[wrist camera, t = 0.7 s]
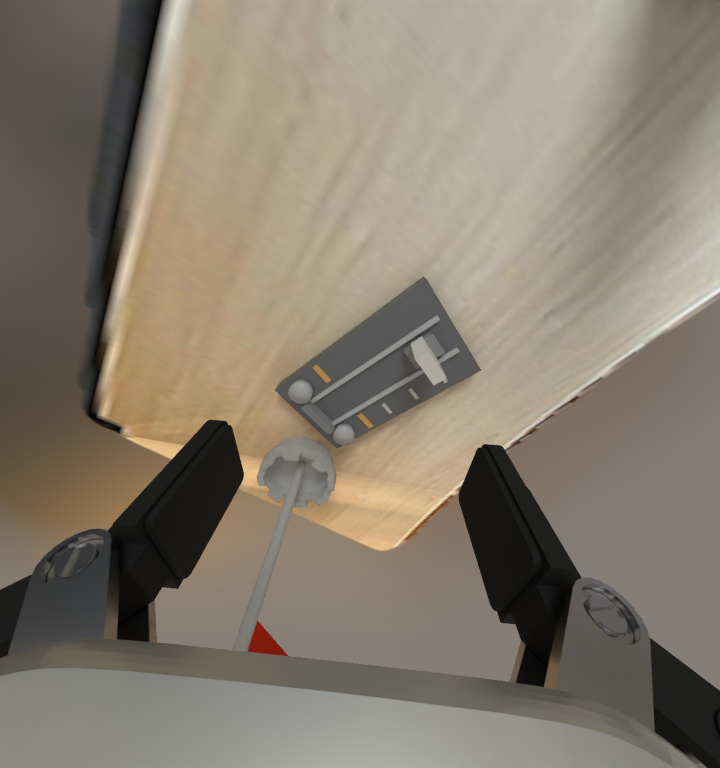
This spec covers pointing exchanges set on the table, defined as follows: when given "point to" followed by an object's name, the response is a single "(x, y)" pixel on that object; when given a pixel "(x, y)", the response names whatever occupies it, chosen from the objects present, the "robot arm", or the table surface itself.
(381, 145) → the table surface
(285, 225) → the table surface
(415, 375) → the console
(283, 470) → the flag stand
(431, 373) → the fader tab
